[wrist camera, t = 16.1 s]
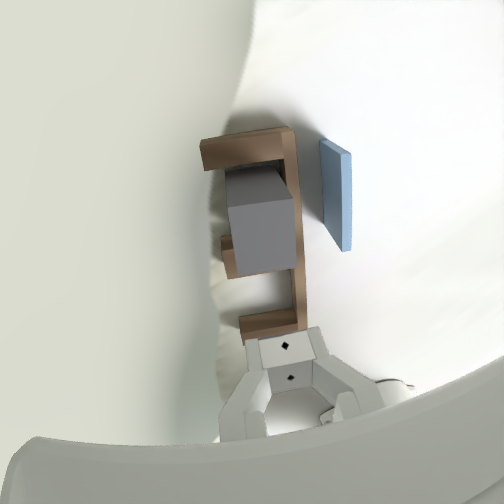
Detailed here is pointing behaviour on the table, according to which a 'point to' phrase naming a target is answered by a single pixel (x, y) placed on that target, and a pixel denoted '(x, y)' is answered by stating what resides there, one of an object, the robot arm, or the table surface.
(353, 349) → the table surface
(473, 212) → the table surface
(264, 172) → the plug
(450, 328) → the table surface
